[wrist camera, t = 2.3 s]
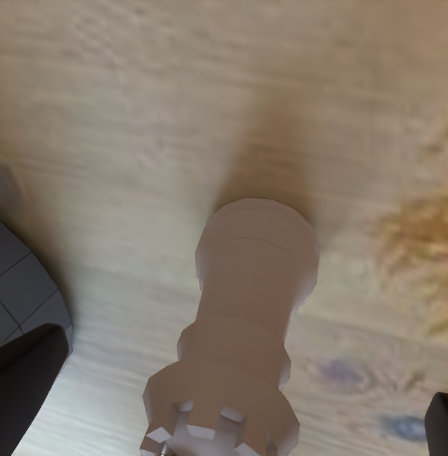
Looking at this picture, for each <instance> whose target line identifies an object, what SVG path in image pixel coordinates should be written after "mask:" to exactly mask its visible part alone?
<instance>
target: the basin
mask: <svg viewBox="0 0 448 456" xmlns="http://www.w3.org/2000/svg"><path fill="white" fill-rule="evenodd" d="M45 323H55V324H60V325H62V326H63V327H64V330H65V333H66V337H67V340H68V344H69V353H68V356H67V358H66V360H65V362H64V364H63V366H62V368H61V370H60V372H59V374H58V376H57V378H58V377H59V375H60V374H61V373H62V371H63V369H64V367H65V365H66V363H67V361H68V359H69V358H70V356H71V354H72V322H71V319H70V316H69V314H68V311H67V308H66V306H65V303H64V301H63V298H62V295H61V293H60V290H59V289H58V287H57V286H56V284H55V283H54V281H53V280H52V279H51V277H50V276H49V274H48V273H47V272H46V270H45V269H44V267H43V266H42V264H41V263H40V262H39V260H38V259H37V257H36V256H35V255H34V253H33V252H31V250H30V249H29V248H28V247H27V246H26V245H25V244H24V243H23V242H22V241H21V240H19V239H18V238H17V237H16V236H15V235H14V234H13V233H12V232H11V231H10V230H9V229H8V228H6V227H5V226H4V225H3V224H2V223H1V222H0V347H1V346H2V345H4V344H6V343H8V342H10V341H12V340H14V339H16V338H18V337H20V336H22V335H23V334H25V333H27V332H29V331H31V330H33V329H35V328H37V327H39V326H41V325H43V324H45ZM57 378H56V379H57ZM56 379H55V381H56ZM55 381H54V382H55Z"/></svg>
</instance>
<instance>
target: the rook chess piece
mask: <svg viewBox="0 0 448 456" xmlns="http://www.w3.org/2000/svg"><path fill="white" fill-rule="evenodd" d="M319 255H320V246H319V243H318V240H317V238H316V235H315V233H314V230H313V227H312V226H311V225H310V224H309V223H308V222H307V221H306V220H305V219H304V218H303V217H302V216H301V215H300V214H299V213H298V212H297V211H296V210H295V209H293V208H291V207H289V206H286V205H284V204H282V203H279V202H277V201H275V200H272V199H260V198H244V199H241V200H238V201H235V202H232V203H229V204H227V205H224V206H222V207H221V208H220V209H219V210H218V211H217V212H216V213H215V214H214V215H213V216H212V217H211V218H209V219H208V220H207V223H206V225H205V228H204V231H203V233H202V236H201V238H200V241H199V243H198V246H197V249H196V251H195V261H196V272H197V278H198V280H199V283H200V290H201V292H202V294H201V298H200V303H199V308H198V312H197V317H196V320H195V322H194V323H192V324H191V325H190V326H188V327H187V328H185V329H184V330H183V331H182V333H181V336H180V338H179V340H178V343H177V352H178V360H179V361H177V362H175V363H173V364H171V365H168V366H167V367H165V368H164V369H162V370H161V371H159V372H158V373H156V374H155V375H153V376H152V377H150V378H149V380H148V383H147V385H146V388H145V390H144V393H143V395H142V397H143V401H144V406H145V410H146V415H147V419H148V422H149V427H148V430H147V432H146V434H145V437H144V439H143V442H142V444H141V446H140V452H141V456H161V453H162V452H163V454H164V456H287V455H288V454H289V453H290V452H291V451H292V450H293V448H294V447H295V446H296V445H297V444H298V435H299V425H300V423H299V422H298V420H297V418H296V416H295V414H294V412H293V410H292V408H291V406H290V404H289V402H288V400H287V399H286V398H285V396H284V395H283V394H282V392H281V391H280V390H281V389H282V387H283V386H284V385H285V383H286V382H287V381H288V379H289V378H290V367H291V360H290V358H289V356H288V354H287V352H286V350H285V348H284V340H285V337H286V333H287V329H288V325H289V322H290V318H291V316H292V315H293V314H295V312H296V311H297V309H298V308H299V307H300V306H302V305H303V304H304V302H305V301H306V299H307V298H308V296H309V295H310V293H311V292H312V290H313V289H314V287H315V285H316V283H317V275H318V265H319Z"/></svg>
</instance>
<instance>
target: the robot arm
mask: <svg viewBox="0 0 448 456" xmlns="http://www.w3.org/2000/svg"><path fill="white" fill-rule="evenodd" d="M68 353H69V344H68V340H67V337H66V333H65V330H64V327H63V326H62V325H60V324H55V323H45V324H43V325H41V326H39V327H37V328H35V329H33V330H31V331H29V332H27V333H25V334H23V335H22V336H20V337H18V338H16V339H14V340H12V341H10V342H8V343H6V344H4V345H2V346H1V347H0V456H11V455H12V453H13V451H14V450H15V448H16V447H17V445H18V444H19V442H20V440H21V439H22V437H23V436H24V434H25V433H26V431H27V430H28V428H29V426H30V425H31V423H32V422H33V420H34V418H35V417H36V415H37V413H38V412H39V410H40V408H41V406H42V405H43V403H44V401H45V399H46V397H47V395H48V393H49V391H50V389H51V387H52V385H53V383H54V381H55V379H56V378H57V376H58V374H59V372H60V370H61V368H62V366H63V364H64V362H65V360H66V358H67V356H68ZM425 431H426V437H427V443H428V449H429V455H430V456H448V393H443V392H437V393H436V394H435V395H434V397H433V399H432V401H431V403H430V406H429V408H428V410H427V412H426V415H425Z"/></svg>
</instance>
